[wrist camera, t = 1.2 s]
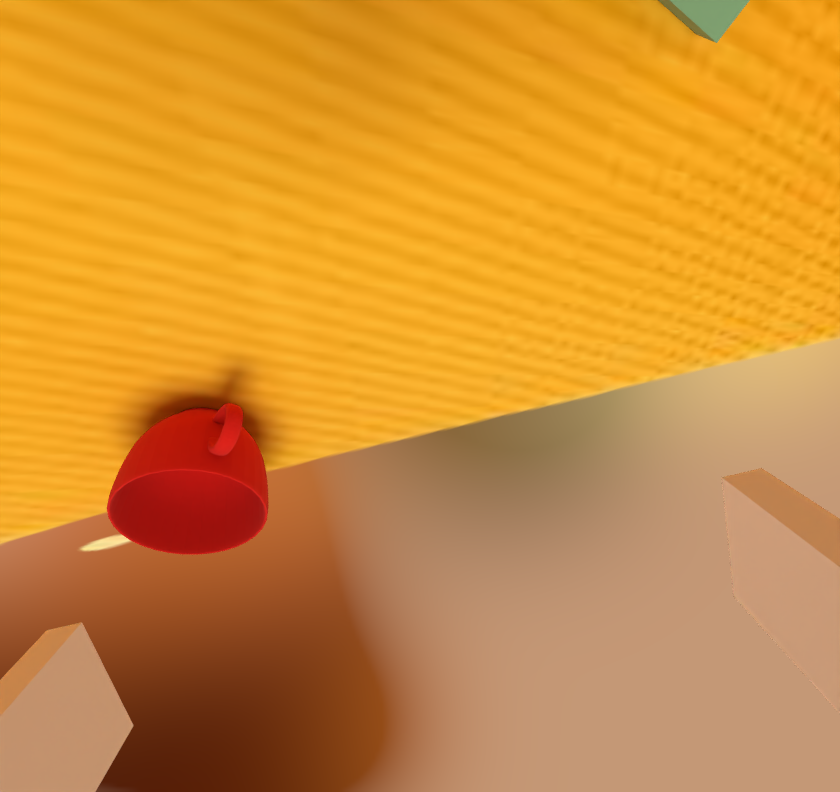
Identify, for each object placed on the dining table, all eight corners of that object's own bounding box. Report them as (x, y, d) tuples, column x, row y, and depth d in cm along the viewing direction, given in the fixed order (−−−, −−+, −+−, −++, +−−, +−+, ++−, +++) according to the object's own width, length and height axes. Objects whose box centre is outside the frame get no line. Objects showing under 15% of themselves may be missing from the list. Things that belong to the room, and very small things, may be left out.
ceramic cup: (310, 380, 51) (311, 462, 44) (245, 482, 60) (237, 564, 53) (166, 332, 45) (141, 418, 38) (118, 453, 54) (90, 541, 47)
